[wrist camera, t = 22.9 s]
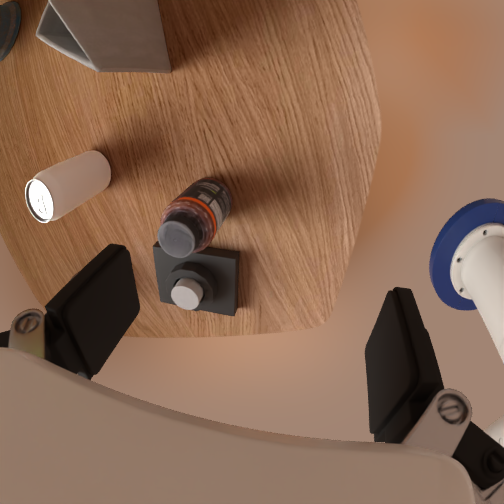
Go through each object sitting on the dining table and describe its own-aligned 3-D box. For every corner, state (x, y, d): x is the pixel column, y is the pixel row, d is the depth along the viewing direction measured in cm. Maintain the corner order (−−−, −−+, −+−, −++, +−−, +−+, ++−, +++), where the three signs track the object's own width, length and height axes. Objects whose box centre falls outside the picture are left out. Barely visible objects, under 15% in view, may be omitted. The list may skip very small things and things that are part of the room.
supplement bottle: (190, 218, 40) (151, 263, 30) (187, 175, 37) (143, 209, 27) (234, 222, 39) (206, 270, 29) (233, 177, 36) (202, 213, 26)
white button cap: (203, 280, 40) (198, 289, 38) (204, 303, 42) (199, 312, 40) (175, 275, 40) (169, 283, 38) (178, 297, 42) (172, 306, 41)
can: (111, 149, 36) (51, 176, 26) (114, 192, 40) (60, 229, 30) (78, 149, 37) (19, 175, 27) (82, 189, 41) (28, 223, 30)
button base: (239, 251, 41) (232, 267, 37) (237, 308, 46) (231, 325, 42) (158, 239, 42) (145, 253, 39) (165, 294, 47) (155, 309, 44)
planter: (103, -6, 25) (-8, -24, 8) (152, -31, 23) (47, -76, 6) (120, 92, 32) (-2, 115, 16) (172, 72, 30) (53, 73, 14)
